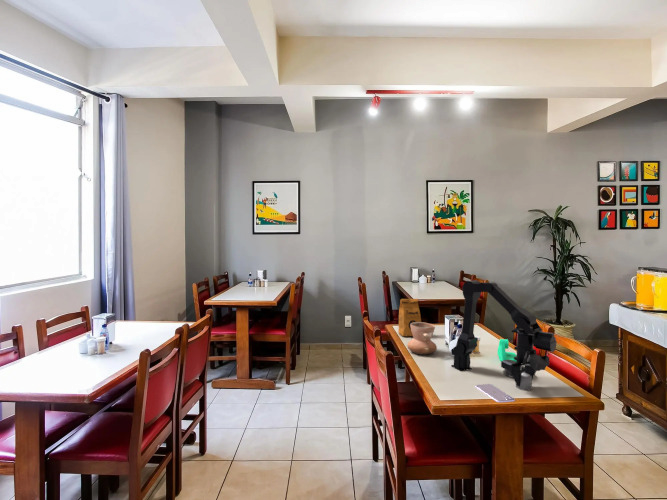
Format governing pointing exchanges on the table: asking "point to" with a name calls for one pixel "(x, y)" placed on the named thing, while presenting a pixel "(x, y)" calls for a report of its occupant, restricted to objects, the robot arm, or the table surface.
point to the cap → (525, 382)
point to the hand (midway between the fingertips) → (523, 384)
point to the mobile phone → (495, 393)
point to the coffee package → (408, 315)
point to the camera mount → (501, 351)
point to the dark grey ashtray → (508, 373)
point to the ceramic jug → (422, 338)
